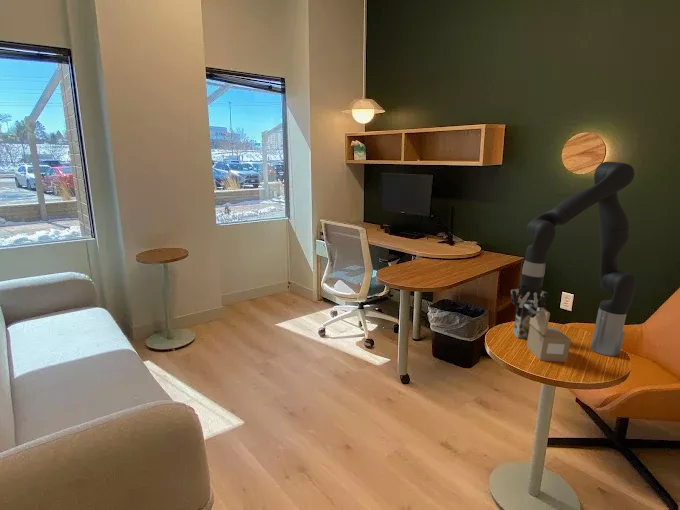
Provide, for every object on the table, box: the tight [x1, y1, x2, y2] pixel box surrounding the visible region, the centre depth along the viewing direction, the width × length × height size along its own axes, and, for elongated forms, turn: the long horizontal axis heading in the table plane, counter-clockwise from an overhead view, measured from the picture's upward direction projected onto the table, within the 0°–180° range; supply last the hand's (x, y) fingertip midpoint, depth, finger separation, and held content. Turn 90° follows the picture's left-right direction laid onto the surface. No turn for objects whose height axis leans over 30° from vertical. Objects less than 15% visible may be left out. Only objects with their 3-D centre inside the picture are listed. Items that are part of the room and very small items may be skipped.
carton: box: [526, 325, 572, 363], centre depth 160 cm, size 10×12×9 cm
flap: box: [524, 304, 551, 337], centre depth 158 cm, size 10×12×5 cm
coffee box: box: [512, 298, 547, 340], centre depth 175 cm, size 9×6×16 cm
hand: (525, 316), depth 157 cm, fingers open, 4 cm apart
